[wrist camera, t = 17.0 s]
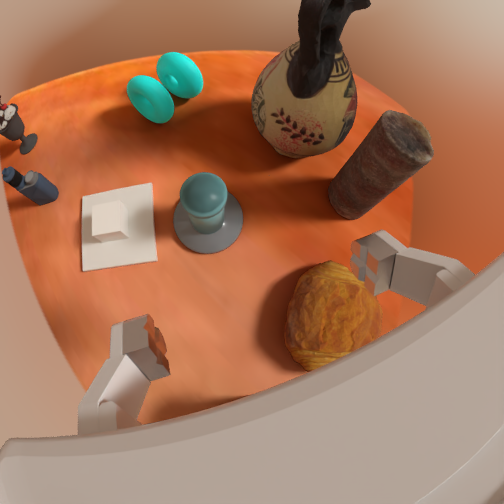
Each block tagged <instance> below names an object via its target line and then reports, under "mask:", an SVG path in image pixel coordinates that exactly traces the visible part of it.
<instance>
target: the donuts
mask: <svg viewBox="0 0 504 504" xmlns="http://www.w3.org/2000/svg"><path fill="white" fill-rule="evenodd" d="M157 74H158V77H159V79H160V81H161V83H162V84H163V85H164V86H163V85H162V84H161V83H160V82H158V81H157V80H155V79H154V78H152V77H149V76H145V75H139V76H136V77H134V78H132V79H131V80H130V81H129V83H128V85H127V94H128V97H129V99H130V101H131V103H132V104H133V106H134V107H135V108H136V109H137V110H138V111H139V112H140V113H141V114H142V115H143V116H144V117H146V118H147V119H149V120H150V121H152V122H155V123H166V122H167V121H169V120H170V119H171V118H172V116H173V114H174V103H173V100H172V97H171V95H170V94H169V92H168V91H170V92H171V93H172V94H174V95H176V96H178V97H181V98H193V97H195V96H197V95H198V94H199V93H200V92H201V90H202V88H203V78H202V75H201V72H200V70H199V69H198V67H197V66H196V64H195V63H194V62H193V61H192V60H191V59H189V58H188V57H187V56H185V55H183V54H181V53H177V52H170V53H166V54H164V55H162V56H161V57H160V59H159V60H158V62H157ZM167 90H168V91H167Z"/></svg>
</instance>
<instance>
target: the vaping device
mask: <svg viewBox="0 0 504 504" xmlns="http://www.w3.org/2000/svg"><path fill="white" fill-rule="evenodd" d="M2 174H3V180H4V181H5V182H7V183H9V184H10V185H11V186H12V187H14V188H15V189H16V190H17V191H19V192H20V193H22V194H23V195H25V196H26V197H28V198H29V199H31V200H32V201H34V202H35V203H37V204H38V205H43V204H46V203H49V202H52V201H55V200H56V199H57V197H58V194H59V192H58V189H57V187H56V186H55V185H53V184H52V183H51V182H50V181H49V180H47V179H46V178H45V177H44V176H43V175H41V174H40V173H37V172H34V171H32V170H31V171H29V172H28V173H27V174H26V175H25V176H23V175H21V174H20V173H19V172H18V171H16V170H15V169H14V168H13V167H8V168H4V169H3V171H2Z"/></svg>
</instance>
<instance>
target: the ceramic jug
mask: <svg viewBox="0 0 504 504" xmlns="http://www.w3.org/2000/svg"><path fill="white" fill-rule="evenodd" d="M370 5H371V3H370V0H302V1H301V6H300V10H299V14H298V18H299V20H298V26H299V27H298V33H299V37H300V41H298V42H296V43H295V44H292V45H291V46H289V47H288V48H287V49H285V50H284V51H282V52H281V53H280V54H279V55H277V56H275V57H274V58H273V59H272V60H271V61H270V62H269V63H268V65H267V66H266V67H265V68H264V69H263V71H262V72H261V74H260V75H259V77H258V79H257V82H256V85H255V87H254V90H253V94H252V114H253V119H254V122H255V124H256V126H257V128H258V130H259V132H260V134H261V135H262V136H263V137H264V138H265V139H266V140H267V141H268V142H269V143H270V144H271V145H272V146H273V147H274V149H275V150H276V151H277V152H278V153H279V154H282V155H285V156H288V157H291V158H303V157H309V156H315V155H319V154H323V153H325V152H328V151H330V150H332V149H334V148H335V147H337V146H338V145H339V144H340V143H341V142H342V141H343V140H344V139H345V137H346V136H347V134H348V133H349V131H350V130H351V128H352V126H353V123H354V119H355V115H356V109H357V91H356V85H355V81H354V78H353V75H352V71H351V68H350V65H349V62H348V60H347V58H346V56H345V54H344V52H343V50H342V45H341V43H340V41H339V38H340V35H341V32H342V30H343V27H344V25H345V23H346V21H347V19H348V17H349V16H350V14H351V13H352V12H354V11H356V10H361V9H366V8H368V7H369V6H370ZM269 176H270V175H269Z"/></svg>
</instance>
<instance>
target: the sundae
mask: <svg viewBox="0 0 504 504" xmlns="http://www.w3.org/2000/svg"><path fill="white" fill-rule="evenodd" d="M0 98H1V96H0ZM0 104H1V102H0ZM1 105H2V104H1ZM17 111H18V106H17V105H16V104H10V105H7V104H3V105H2V106H0V134H1V135H3V136H5V137H6V138H8V139H9V140H12V141H15V140H18V139H20V140H21V141H22V143H21V146H20V152H21V153H22V154H26V153H28V152H30V151H31V150H32V149H33V148H34V146H35V144H36V142H37V135H36V134H30V135H28V136H27V137H25V136H24V134H23V133H24V128H25V126H24V124H23V122H22V120H21V118H20V117H19V115H18V113H17Z"/></svg>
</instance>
